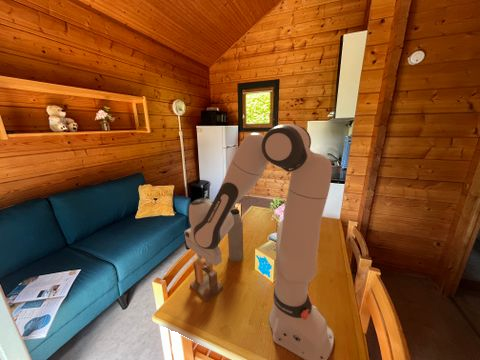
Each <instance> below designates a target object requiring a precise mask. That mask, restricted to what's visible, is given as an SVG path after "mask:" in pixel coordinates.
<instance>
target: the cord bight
mask: <svg viewBox="0 0 480 360" xmlns="http://www.w3.org/2000/svg"><path fill="white" fill-rule="evenodd" d="M196 261H197V260H196ZM205 261H206V260H205V259H204V258H202V259H201V260H199V261H197V262H196V272H197V282H199V283H200V284H202V283H203V282H204V279H203V274H204V271H203V266H205V265H204V262H205ZM205 267H206V266H205ZM213 267H214V265H213V264H211V263H210V265H209V266H208V267H206V268H207V269H209V270H210V271H213V270H214V268H213ZM206 274H207V273H206ZM207 275H208V274H207Z"/></svg>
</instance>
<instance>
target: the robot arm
mask: <svg viewBox="0 0 480 360" xmlns="http://www.w3.org/2000/svg"><path fill="white" fill-rule="evenodd" d="M311 146H312V139H311V135H310V133H309V132H308V130H306V129H305V128H304V127H302V126H299V125H296V124H294V123H293V124H291V123H287V124H279V125H276V126H273V127H272V128H270V129H269V130H268V131H267V132H266V133H265V134H262V133H260V132H251V133H248V134H247V135H246V136H245V137H244V139H243V140H242V141H241V143H240V144H239V146H238V147H237V150H236V151H235V153H234V155H233V157H232V159H231V161H230V164H229V165H228V169H227V171H226V173H225V176H224V177H223V178H224V179H223V180H222V183H221V185H220V187H219V190H218V192H217V194H216V196H215V197H214V199H213V201H211V200H210V199H209V198H207V197H200V198H198V199H195V200H193V201H192V202H190V204H189V207H188V218H189V220H188V221H189V224H190V228H188V229H186V230H184V232H183V233H184V236H185V244H186V247H188V248H189V249H190V250H192V252H194V253H196V256H197V258H198V259H199V260H201V259H202V258H204V259H205V260H206V261H205V262H204V265H205V267H206V268H207V267H208V266H209V265H210V263H211V264H212V265H213V267H217V266H218V265H221V263H222V262H223V256H222V255H223V254H222V250H221V248H220V246H219V244H220V243H221V241H222V240H223V239H224V238H225V236H226V235H228V232H229V230H230V229H231V228H232V227H233V225H234V216H233V214H232V213H231V212H230V211H231V210H232V209H234V207H235V206H236V204H237V203H239V202H240V201H241V200H242V199H243V198H244V197H245V196H246V195H247V194H248V193H249V192H250V191H251V190H252V189H253V188H254V187H255V186H256V185H257V183H258V182H259V180H260V179H261V177H262V175H263V174H264V172H265V171H266V168H267V166H268V165H269V164H270V163H271V164H272V165H275V166H276V167H278V168H281V169H282V170H284V171H285V172H290V180H289V186H288V189H287V195H286V199H285V203H284V209H283V216H282V217H283V218H282V220H281V221H280V222H279V224H278V227H277V229H276V240H275V241H276V242H275V243H276V244H275V247H276V248H275V282H274V283H275V284H274V288H273V305H272V309H271V311H270V313H269V318H268V321H269V325H270V326H269V327H270V329H271V330H272V340H273V342H274V343H276V344H277V345H279V346H281V347H282V348H285V349H286V350H288V351H289V352H291V353H293V354H295V355H296V356H298V357H299V358H302V359H303V360H328V358H329V357H330V355H331V354H332V351H333V348H334V342H335V341H334V339H335V336H334V332H333V329H331V328H330V327H329V326H328V325H327V321H326V319H325V317H324V316H323V315H322V314H321V313H320V311H319V309H318V307H317V306H315V305H314V300H315V299H314V298H313V299H312V300H311V299H310V296H309V293H308V292H309V285H310V284H309V282H311V281H312V280H314V279H315V277H316V275H317V273H318V271H317V270H318V251H319V242H320V235H321V234H320V233H321V223H322V219H323V213H324V211H325V206H326V204H327V203H326V202H327V199H328V196H329V192H330V187H331V182H332V181H331V180H332V175H333V174H332V171H333V169H332V168H333V166H332V162H331V160H330V159H329V158H328V157H326V156H325V155H324V154H321V153H315V152H313V151H312V150H311Z"/></svg>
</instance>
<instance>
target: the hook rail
mask: <svg viewBox="0 0 480 360" xmlns="http://www.w3.org/2000/svg"><path fill="white" fill-rule="evenodd" d="M197 261H199V258H198V259H197V260H195V261H193V268H194V269H193V270H194V279H195V280H193V281H192V282H191V283H190V284H189V286H190V287H191V288H192V289H193V290H194V291H196V293H197V294H198V295H199V296H201V297H202V298H203V299H204V300H205V301H206V302H209V301H210V300H211V299H212V298H214V297H215V296H216V295H217V294H218V293H220V292H221V291H222V290H223V289H224V286H223V285H222V284H221V283H219V281H218V272H217V271H216V270H215V269H213V271H210V270H209V269H207V267H206V266H203V272H204V273H203V279H204V282H203V283H202V284H200V283H199V282H197V272H196V262H197ZM207 274H208V275H207Z"/></svg>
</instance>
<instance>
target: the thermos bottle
mask: <svg viewBox="0 0 480 360" xmlns="http://www.w3.org/2000/svg"><path fill="white" fill-rule="evenodd" d="M230 212H231V213H232V214H233V216H234V225H233V227H232V228H231V229H230V230H229V232H228V233H227V240H228V241H227V242H228V243H227V244H228V259H229V260H230V261H231V262H240V261H241V260H243V259H244V227H243V226H244V225H243V224H244V221H243V217H242V215H241V214H240V210H239V209H237V208H232V209H231V211H230Z"/></svg>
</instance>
